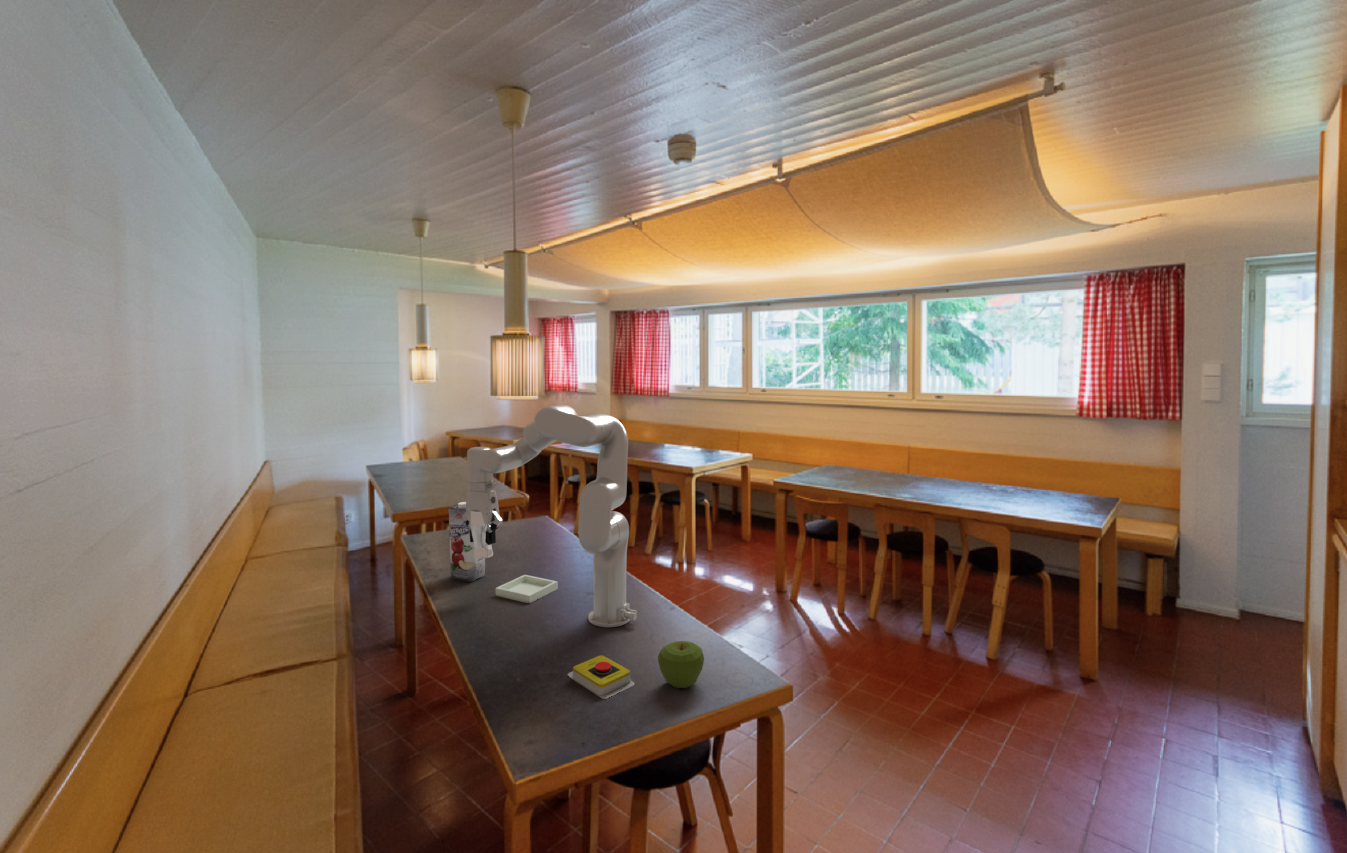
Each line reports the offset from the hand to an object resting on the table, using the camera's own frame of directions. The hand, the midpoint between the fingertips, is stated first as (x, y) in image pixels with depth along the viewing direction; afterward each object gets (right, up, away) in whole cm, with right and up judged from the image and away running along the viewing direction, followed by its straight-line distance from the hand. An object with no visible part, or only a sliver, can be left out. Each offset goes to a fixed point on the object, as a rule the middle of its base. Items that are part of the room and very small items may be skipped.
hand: (482, 542), depth 185 cm
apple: (+62, -24, -49) cm, 82 cm away
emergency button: (+43, -24, -47) cm, 68 cm away
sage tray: (+12, -18, +6) cm, 22 cm away
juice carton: (-11, -16, +19) cm, 28 cm away
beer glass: (0, -5, 0) cm, 5 cm away
